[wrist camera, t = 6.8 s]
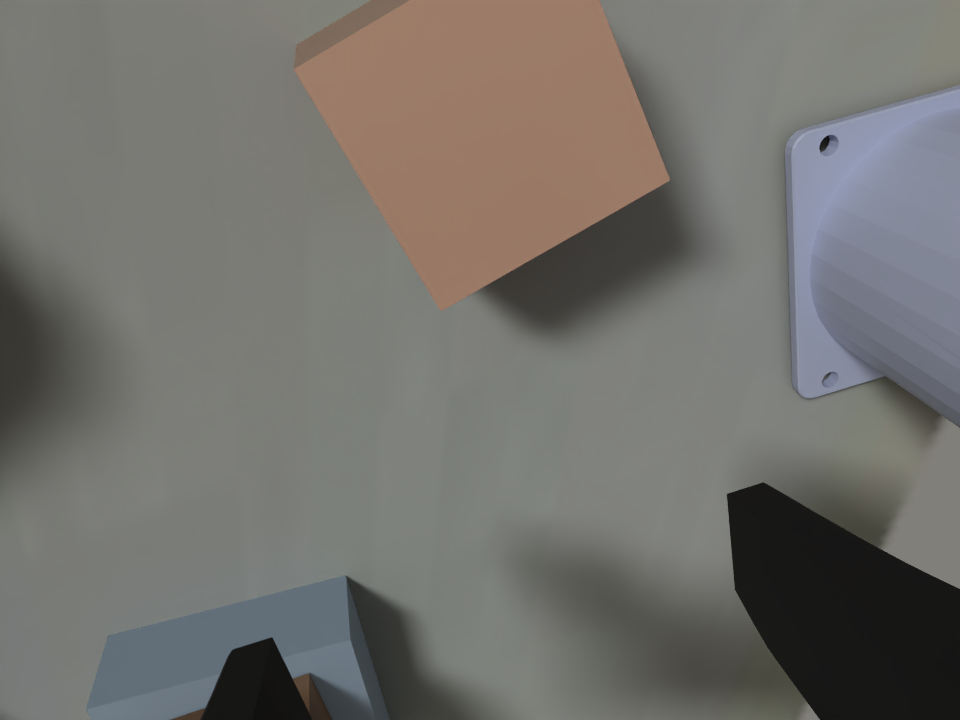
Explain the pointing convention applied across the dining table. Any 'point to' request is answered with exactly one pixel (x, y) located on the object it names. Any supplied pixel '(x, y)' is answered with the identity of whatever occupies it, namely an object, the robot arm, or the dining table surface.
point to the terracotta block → (482, 127)
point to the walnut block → (307, 692)
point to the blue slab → (214, 633)
